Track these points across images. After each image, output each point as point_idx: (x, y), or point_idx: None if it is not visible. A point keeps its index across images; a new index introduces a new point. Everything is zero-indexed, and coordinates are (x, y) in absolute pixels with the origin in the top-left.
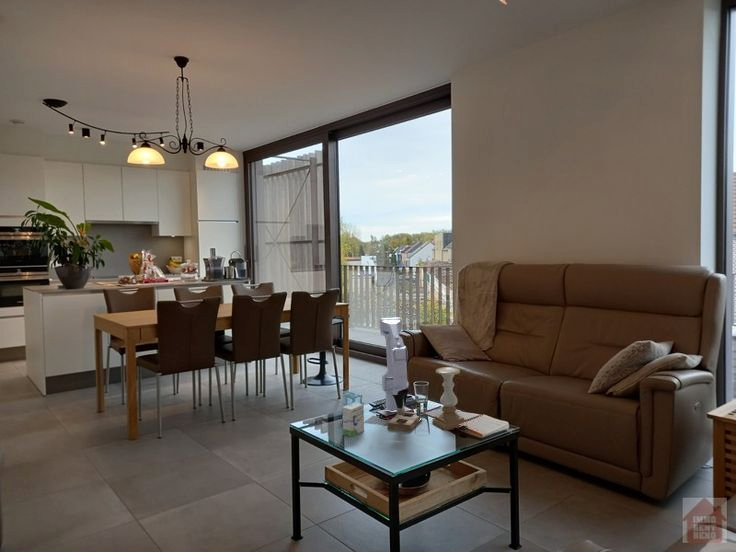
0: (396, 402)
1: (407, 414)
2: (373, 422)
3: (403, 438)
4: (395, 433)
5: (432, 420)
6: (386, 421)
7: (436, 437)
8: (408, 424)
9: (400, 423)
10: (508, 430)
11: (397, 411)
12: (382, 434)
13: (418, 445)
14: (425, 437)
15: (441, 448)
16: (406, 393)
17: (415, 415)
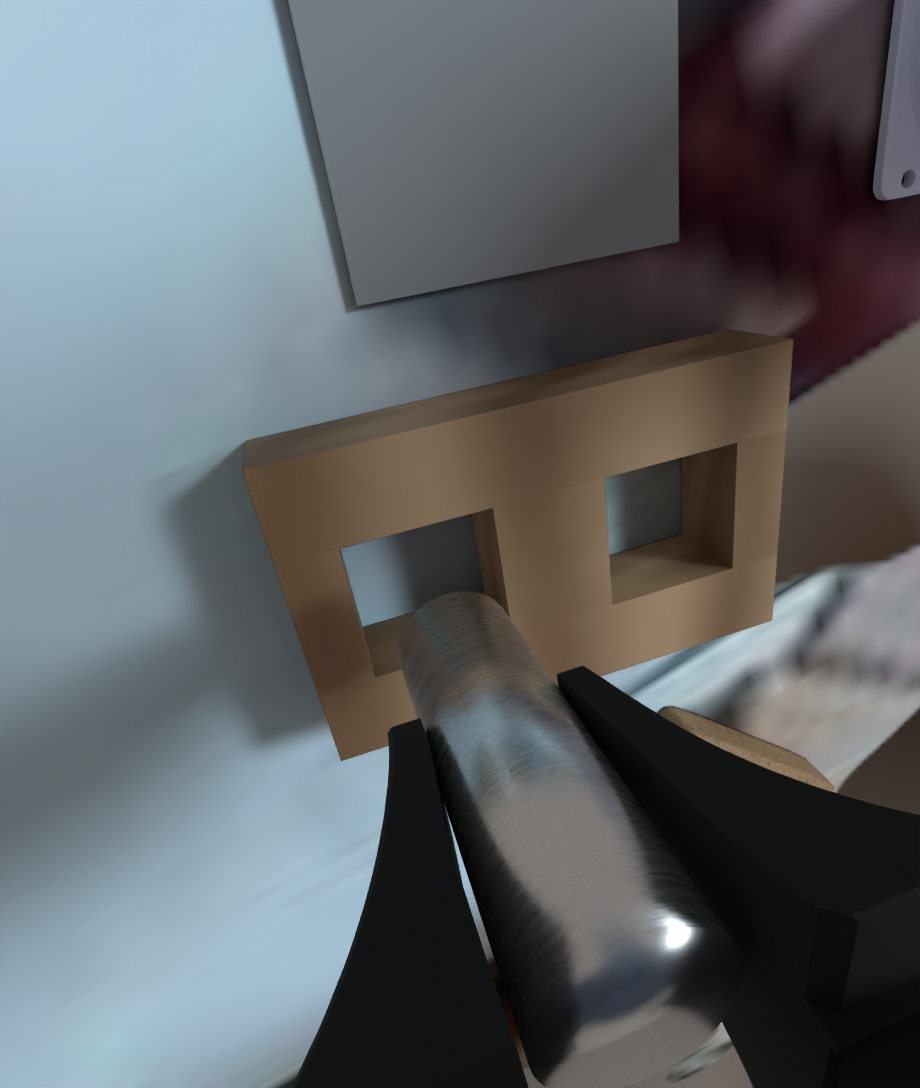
0: (392, 832)
1: (725, 469)
2: (364, 29)
3: (124, 761)
4: (197, 603)
5: (680, 726)
6: (506, 238)
7: (356, 922)
8: (356, 735)
9: (331, 642)
10: (688, 1063)
11: (429, 635)
12: (37, 489)
13: (73, 953)
14: (299, 873)
15: (161, 1073)
16: (732, 1033)
17: (683, 608)
